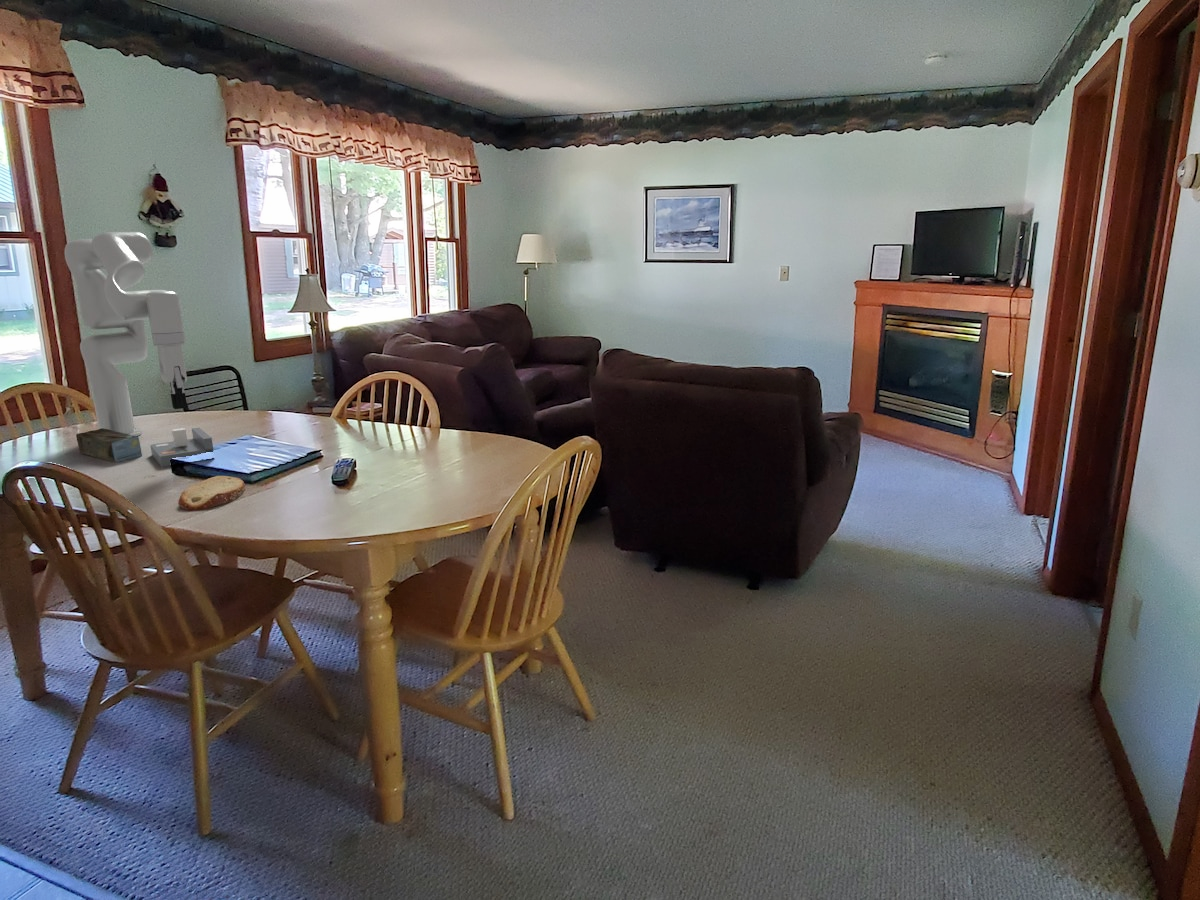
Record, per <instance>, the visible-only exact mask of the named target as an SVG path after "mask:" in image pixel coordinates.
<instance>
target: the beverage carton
mask: <svg viewBox="0 0 1200 900" xmlns="http://www.w3.org/2000/svg"><path fill="white" fill-rule="evenodd" d="M75 435H76V436H75V438H76V441H77V445H78V446H77V447H78V450H79V454H81V453H83V454H82V455H85V454H86V455H85V456H89V455H90V456H89V457H93V456H94V458H96V457H98V459H100V458H102V459H101V460H104V459H106V460H105V461H108V460H109V462H113V461H114V463H118V461H119V462H123V461H128V460H131V458H132V459H135V457H136V458H140V457H142V456H143V452H142V448H141V441H140V438H139V437H138V436H132V435H129V434H125V433H121V432H116V431H112V430H108V429H103V428H101V429H99V428H98V429H95V430H89V431H85V432H80V433H76V434H75ZM127 459H128V460H127Z"/></svg>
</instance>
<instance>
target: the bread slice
mask: <svg viewBox="0 0 1200 900" xmlns="http://www.w3.org/2000/svg"><path fill="white" fill-rule="evenodd" d="M246 489H247V487H246V484H245V482H244V481H243V479H241V478H239V477H236V476H229V475H216V476H212V477H209V478H207V479H204V480H202V481H200V482H197V483H194V484H193V485H192V486H189V487H188V488H186V489H183V491H182V492H181V494H180V496H179V499H178V500H177V501H178V502H177V505H178V506H180V508H182V509H183V510H185V511H187V512H196V511H197V512H198V511H206V510H209V509H212V508H215V507H218V506H223V505H226V504H229V503H231V502H233V501H234V500H236V499H238V498H239V497H241V496H242V495H243V493H244V492H245V491H246Z"/></svg>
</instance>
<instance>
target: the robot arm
mask: <svg viewBox="0 0 1200 900" xmlns="http://www.w3.org/2000/svg"><path fill="white" fill-rule="evenodd" d="M153 251H154V249H153V245H152V243H151V241H150V239H149V238H148V236H146V235H144V234H143V233H141V232H136V231H106V232H101V233H99V234H96V235H95V236H93V238H82V239H81V238H79V239H73V240H71V241H69V242H67V243H66V245H65V247H64V260H65V262H66V266H67V267H68V269H69V271H70V273H71V275H72V276H73V279H74V282H75V286H76V291H77V298H78V304H79V309H80V315H81V320H82V324H83V325H84V326H85V327H86V328H88V329H89V330H97V331H99V330H111V329H124V330H125V331H119V332H106V333H96V334H90V335H88V336H86V337H84V338H83V339H82V340H81V341H80V342H79V343H80V344H79V349H80V350H79V351H80V354H81V357H82V359H83V361H84V365H85V368H86V370H87V373H88V379H89V385H90V389H91V394H92V400H93V404H94V410H95V417H96V421H97V422H96V423H97V427H98V429H101V428H103V429H108V430H112V431H116V432H121V433H125V434H129V435H132V436H137V437H138V436H140V435H142V429H140V428H137V427H135V421H134V416H133V414H134V413H133V409H132V404H131V399H130V391H129V387H128V380H127V377H126V376H125V374H123V373H122V372H121V371H120V370H119V369H118V368H117V367H116V365H117V366H118V365H121V364H122V365H123V364H131V363H137V362H142V361H145V360H146V358H147V357H148V340H147V336H146V335H147V333H146V326H145V320H149V326H150V332H151V338H152V339H151V340H152V344H153V345H152V346H153V347H157V357H158V358H157V359H158V365H159V366H158V367H159V372H160V379H161V381H162V382H164V383H165V384H167V385H169V389H170V398H171V405H172V408H173V409H174V410H179V409H187V408H188V403H187V397H186V393H185V387H184V383H186V382H187V380H188V376H187V375H188V374H187V368H186V363H185V358H184V357H185V356H184V351H183V345H186V344H187V342H186V336H185V329H184V324H183V323H184V322H183V316H182V311H181V302H180V298H179V295H178V294H177V292H175V291H172V290H165V289H149V290H148V289H146V290H144V289H143V290H129V291H128V290H127V289H129V288H132V287H133V286H135V285H137V284H138V283H140V282H141V281H142V280H143V278H144V276H145V274H146V271H145V270H146V269H145V266H144V265H145V264H147V263H149V262H151V259H152V258H153V254H154V253H153ZM102 270H105V271H106V272H107V273H108V275H106V274H105V273H104V272H103V271H102ZM126 290H127V291H126Z"/></svg>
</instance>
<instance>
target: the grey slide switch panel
mask: <svg viewBox="0 0 1200 900" xmlns="http://www.w3.org/2000/svg"><path fill="white" fill-rule="evenodd" d="M191 434H192V438H187V442H188V445H186V446H179V447H176V446H175V445H174V440H173V441H168V442H167V441H166V442H159V443H153V444H150V445H149V446H150V451H151V456H152V457H153V458H154V459H155V461H156V462H157V463H158V464H159V466H160V467H161V468H167V467H171V466H170V460H171V459H172V458H176V457H186V456H192V455H197V454H201V453H206V452H213V451H214V444H213V438H212V437H211V436H210V435H209V434H208V433H206V432H205V430H203V429H202V428H200V427H194V428H193V427H192V428H191Z"/></svg>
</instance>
